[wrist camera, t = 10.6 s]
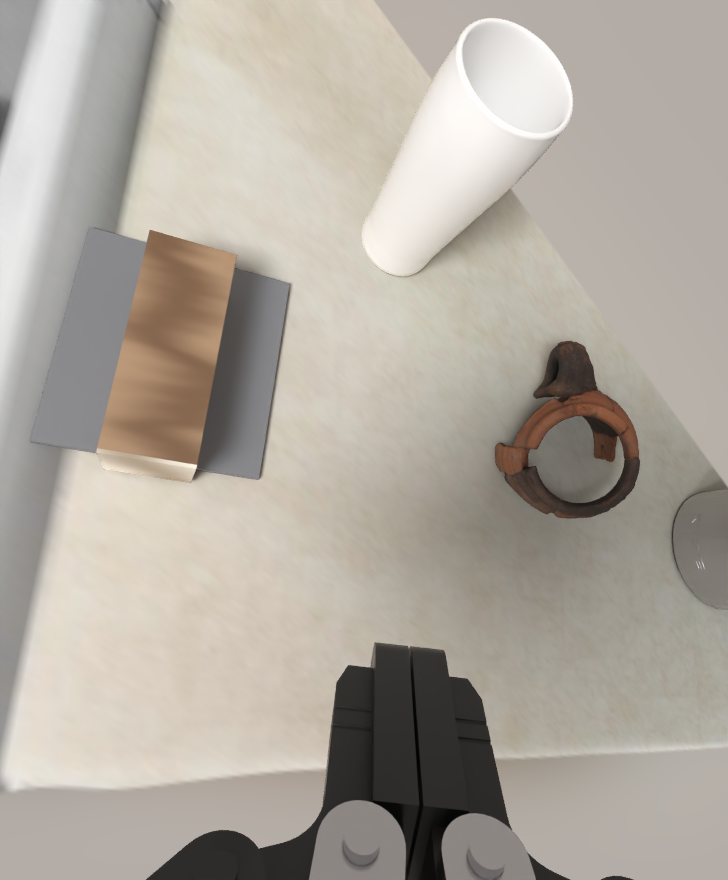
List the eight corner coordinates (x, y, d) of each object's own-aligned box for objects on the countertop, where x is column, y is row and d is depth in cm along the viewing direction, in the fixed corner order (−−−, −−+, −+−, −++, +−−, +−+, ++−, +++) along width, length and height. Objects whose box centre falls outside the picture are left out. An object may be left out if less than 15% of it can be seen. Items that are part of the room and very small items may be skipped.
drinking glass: (358, 189, 40) (465, -10, 26) (440, 225, 42) (580, 56, 28) (340, 268, 38) (446, 97, 24) (427, 302, 40) (571, 161, 26)
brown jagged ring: (614, 491, 43) (667, 518, 35) (492, 508, 43) (516, 539, 35) (597, 336, 42) (647, 327, 33) (472, 357, 42) (491, 352, 34)
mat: (288, 286, 36) (289, 283, 36) (257, 479, 33) (258, 478, 32) (89, 230, 32) (88, 226, 32) (31, 442, 29) (29, 440, 29)
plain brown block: (190, 482, 31) (226, 293, 34) (196, 468, 27) (236, 255, 30) (103, 469, 29) (150, 272, 33) (96, 452, 25) (149, 229, 29)
